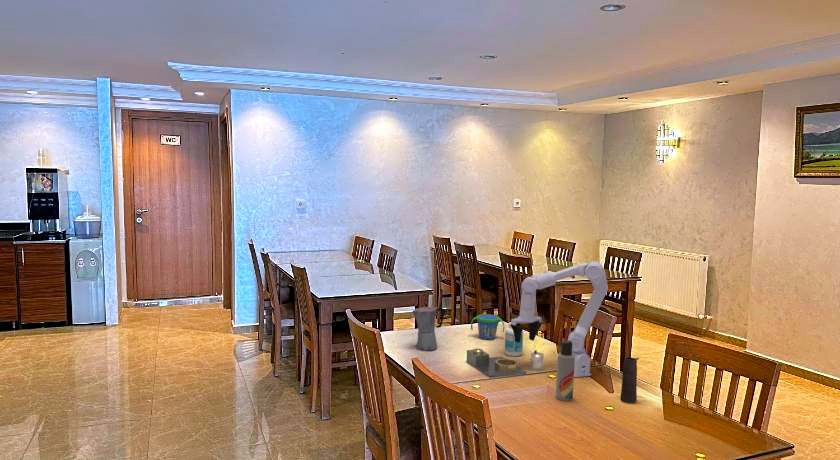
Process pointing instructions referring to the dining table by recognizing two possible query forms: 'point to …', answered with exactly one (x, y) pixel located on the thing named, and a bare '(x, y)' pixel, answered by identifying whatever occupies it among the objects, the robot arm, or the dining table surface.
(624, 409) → the dining table surface
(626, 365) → the butter churn
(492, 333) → the snack cup
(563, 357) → the lotion bottle
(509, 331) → the pill bottle
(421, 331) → the moka pot
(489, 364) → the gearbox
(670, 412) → the dining table surface
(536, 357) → the spout can
